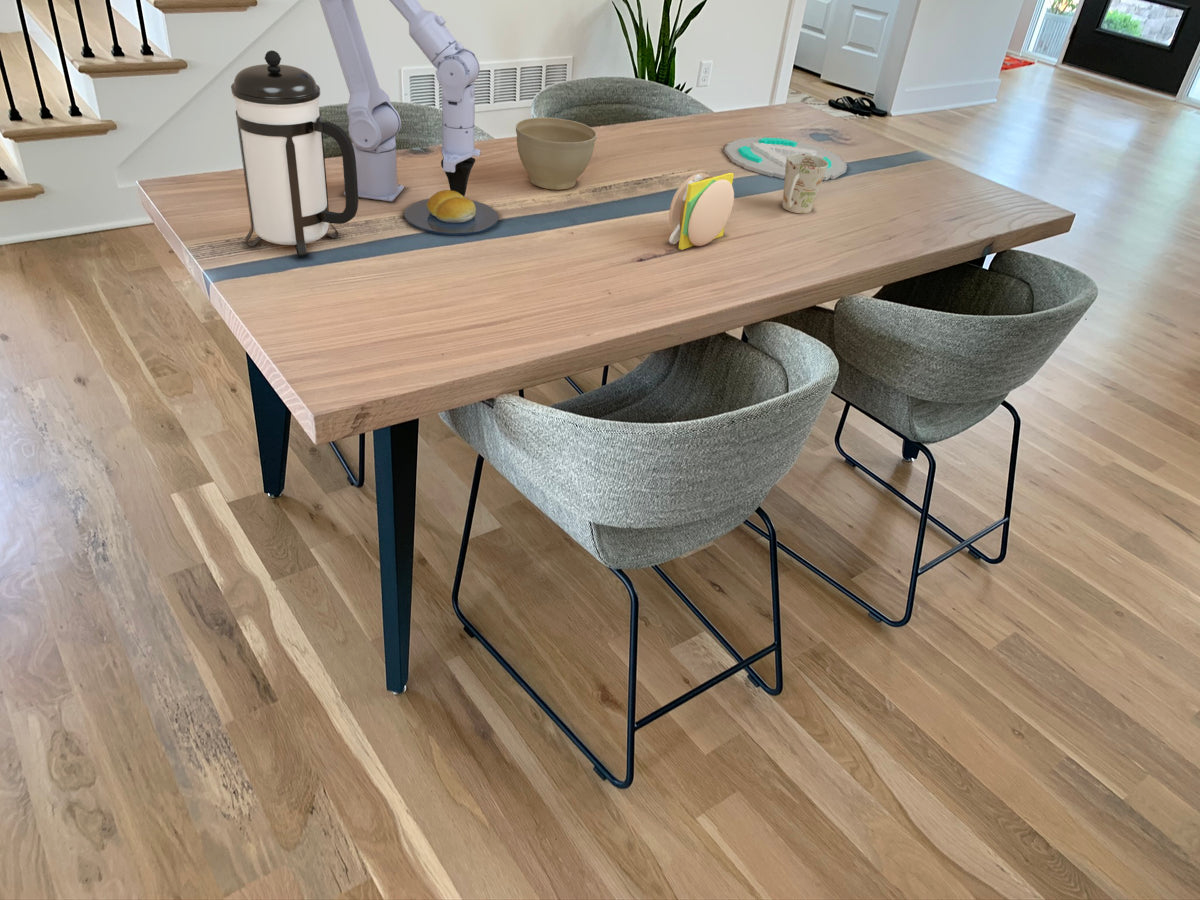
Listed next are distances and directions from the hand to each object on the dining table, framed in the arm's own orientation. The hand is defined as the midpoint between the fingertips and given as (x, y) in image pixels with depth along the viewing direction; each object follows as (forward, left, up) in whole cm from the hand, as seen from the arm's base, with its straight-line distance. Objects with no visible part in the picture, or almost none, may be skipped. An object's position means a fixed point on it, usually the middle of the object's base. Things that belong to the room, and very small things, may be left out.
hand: (458, 197), depth 168 cm
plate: (0, -5, -2) cm, 5 cm away
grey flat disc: (+65, +56, -2) cm, 86 cm away
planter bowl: (+15, +20, -2) cm, 25 cm away
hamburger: (+45, 0, -2) cm, 45 cm away
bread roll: (0, -5, -2) cm, 5 cm away
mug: (+65, +22, -2) cm, 69 cm away
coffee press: (-21, -24, -2) cm, 32 cm away
